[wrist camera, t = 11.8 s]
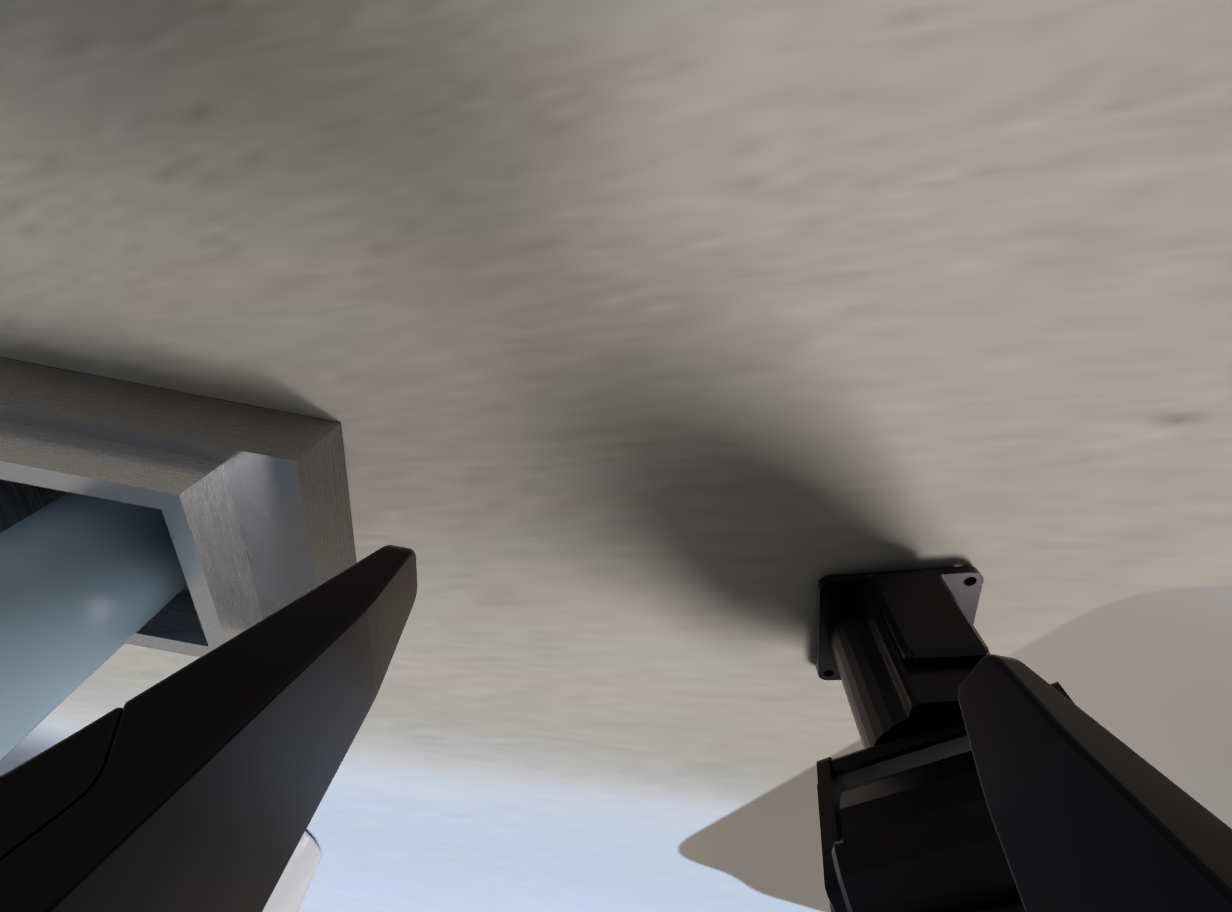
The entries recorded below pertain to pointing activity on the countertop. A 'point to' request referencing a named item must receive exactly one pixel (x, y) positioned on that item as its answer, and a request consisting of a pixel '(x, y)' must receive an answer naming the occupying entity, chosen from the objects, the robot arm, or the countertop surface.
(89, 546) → the capped blue cylinder
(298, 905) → the utensil holder
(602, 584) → the countertop surface
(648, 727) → the countertop surface
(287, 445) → the gray rectangular open-top holder
